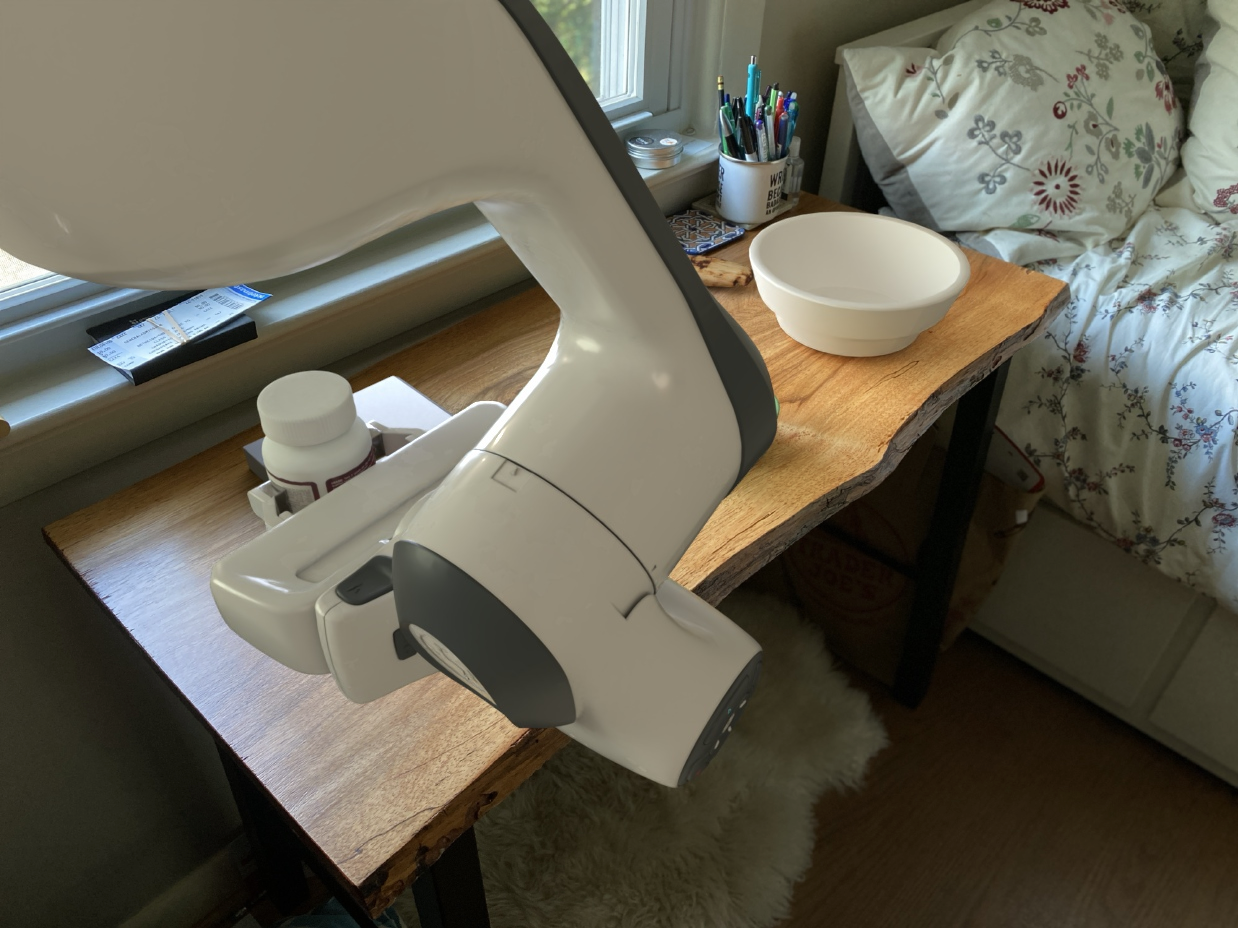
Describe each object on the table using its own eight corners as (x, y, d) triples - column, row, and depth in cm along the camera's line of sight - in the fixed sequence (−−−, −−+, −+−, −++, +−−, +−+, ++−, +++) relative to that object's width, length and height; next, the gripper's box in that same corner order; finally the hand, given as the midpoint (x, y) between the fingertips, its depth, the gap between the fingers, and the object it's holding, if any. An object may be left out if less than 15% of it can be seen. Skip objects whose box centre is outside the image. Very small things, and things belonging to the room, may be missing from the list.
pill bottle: (389, 506, 62) (361, 359, 55) (392, 569, 57) (361, 417, 50) (293, 519, 61) (252, 370, 54) (287, 584, 56) (241, 431, 49)
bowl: (873, 264, 113) (885, 198, 108) (998, 355, 97) (1020, 282, 92) (707, 299, 106) (711, 230, 101) (812, 402, 90) (823, 327, 85)
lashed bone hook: (587, 291, 109) (734, 319, 103) (585, 255, 106) (736, 281, 100) (620, 256, 115) (760, 280, 109) (618, 221, 112) (762, 244, 106)
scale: (332, 546, 75) (323, 514, 72) (249, 468, 82) (239, 437, 80) (490, 459, 83) (486, 429, 81) (401, 396, 91) (396, 367, 89)
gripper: (601, 425, 53) (436, 347, 60) (302, 640, 41) (137, 510, 48) (603, 508, 57) (448, 426, 64) (331, 728, 45) (174, 596, 51)
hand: (313, 463), depth 56 cm, fingers closed on pill bottle, 6 cm apart
